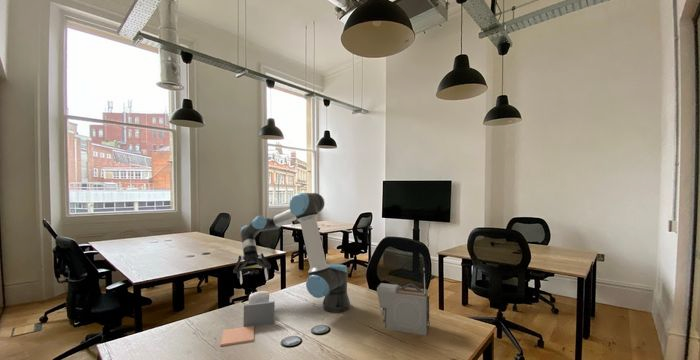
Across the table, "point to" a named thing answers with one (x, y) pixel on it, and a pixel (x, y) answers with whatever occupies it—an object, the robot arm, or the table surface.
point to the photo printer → (259, 297)
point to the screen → (259, 314)
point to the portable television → (404, 307)
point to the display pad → (237, 335)
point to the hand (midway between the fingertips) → (254, 281)
